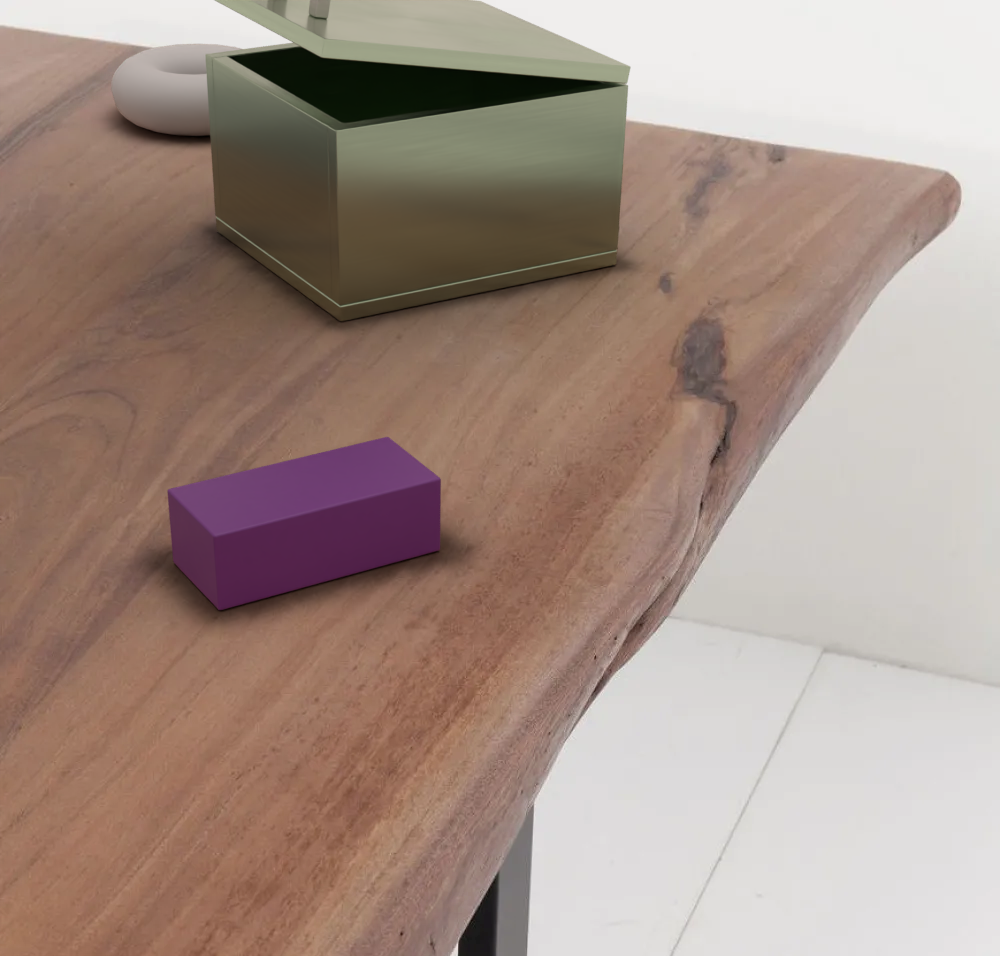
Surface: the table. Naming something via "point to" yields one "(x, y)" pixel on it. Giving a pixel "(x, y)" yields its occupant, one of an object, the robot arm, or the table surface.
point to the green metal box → (411, 175)
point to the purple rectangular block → (304, 521)
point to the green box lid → (430, 36)
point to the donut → (166, 88)
